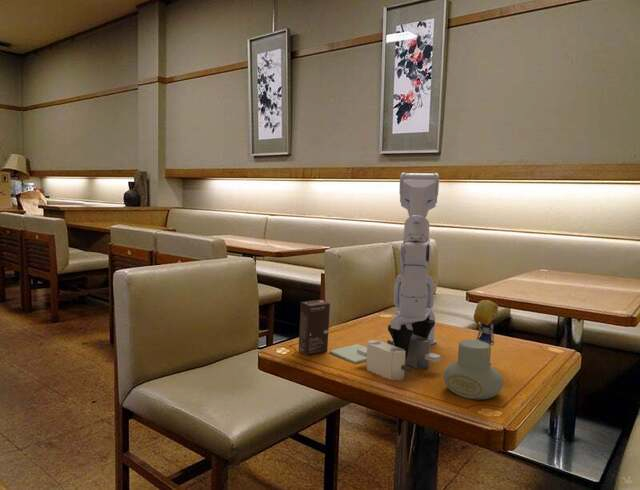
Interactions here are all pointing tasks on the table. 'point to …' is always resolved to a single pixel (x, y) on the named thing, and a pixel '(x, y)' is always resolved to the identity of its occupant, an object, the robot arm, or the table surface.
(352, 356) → the sage pad
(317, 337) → the box
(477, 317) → the figurine
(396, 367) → the white plug
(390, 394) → the table surface
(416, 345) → the charcoal plug
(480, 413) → the table surface
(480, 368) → the air freshener
